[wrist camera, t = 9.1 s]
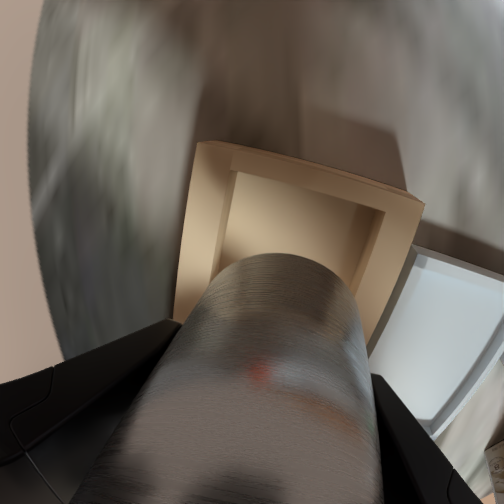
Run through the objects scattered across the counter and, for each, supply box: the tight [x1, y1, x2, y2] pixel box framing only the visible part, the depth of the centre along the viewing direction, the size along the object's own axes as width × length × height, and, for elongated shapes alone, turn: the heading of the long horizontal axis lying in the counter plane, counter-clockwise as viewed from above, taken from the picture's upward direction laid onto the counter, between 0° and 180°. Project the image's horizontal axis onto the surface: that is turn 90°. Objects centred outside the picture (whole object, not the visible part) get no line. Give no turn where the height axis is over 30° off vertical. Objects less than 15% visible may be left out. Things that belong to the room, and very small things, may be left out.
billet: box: [68, 253, 384, 504], centre depth 6 cm, size 5×5×7 cm
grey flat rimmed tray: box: [366, 244, 504, 441], centre depth 16 cm, size 13×9×1 cm
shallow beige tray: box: [173, 140, 425, 346], centre depth 16 cm, size 17×9×3 cm, turn 168°
